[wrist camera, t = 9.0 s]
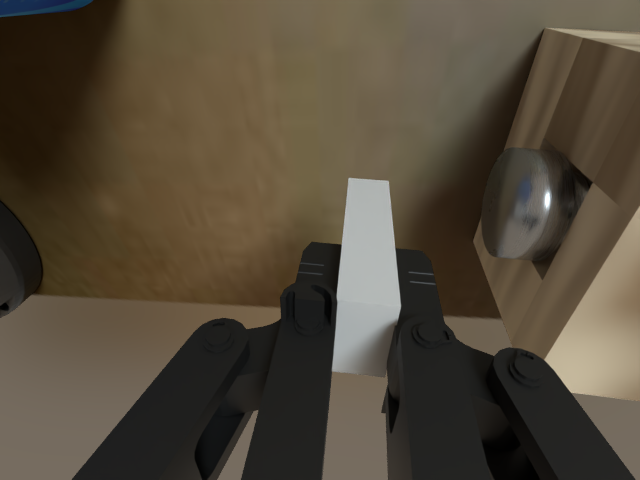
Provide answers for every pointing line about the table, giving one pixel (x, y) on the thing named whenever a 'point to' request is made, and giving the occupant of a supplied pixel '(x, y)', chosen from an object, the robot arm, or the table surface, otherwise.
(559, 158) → the pin
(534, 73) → the block
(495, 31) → the table surface
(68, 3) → the beer can
